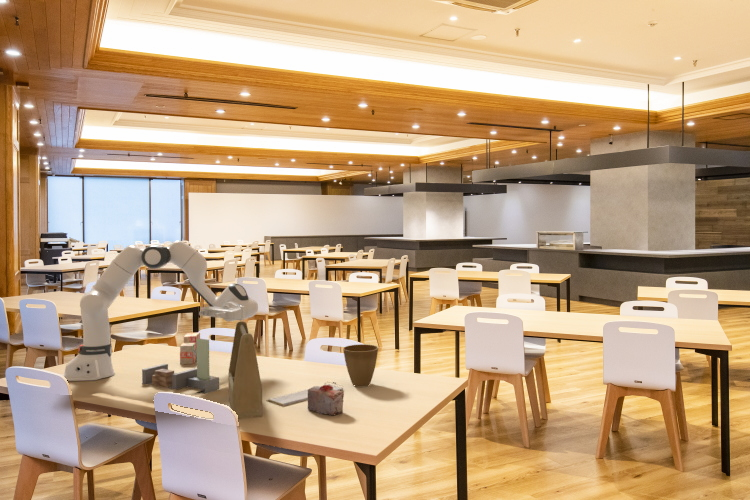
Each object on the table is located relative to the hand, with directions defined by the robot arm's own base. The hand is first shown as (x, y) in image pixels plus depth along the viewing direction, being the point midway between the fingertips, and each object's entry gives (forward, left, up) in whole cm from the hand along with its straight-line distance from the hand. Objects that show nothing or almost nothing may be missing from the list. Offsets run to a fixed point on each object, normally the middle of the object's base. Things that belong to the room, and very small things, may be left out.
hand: (208, 314), depth 262 cm
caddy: (+13, -43, -29) cm, 54 cm away
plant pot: (+62, -25, -29) cm, 73 cm away
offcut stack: (-18, -9, -28) cm, 34 cm away
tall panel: (-2, -15, -28) cm, 32 cm away
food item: (+41, -58, -29) cm, 77 cm away
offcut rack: (-16, -6, -29) cm, 34 cm away
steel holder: (-2, -16, -29) cm, 33 cm away
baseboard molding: (+37, -34, -30) cm, 59 cm away
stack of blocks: (-9, +47, -29) cm, 56 cm away
